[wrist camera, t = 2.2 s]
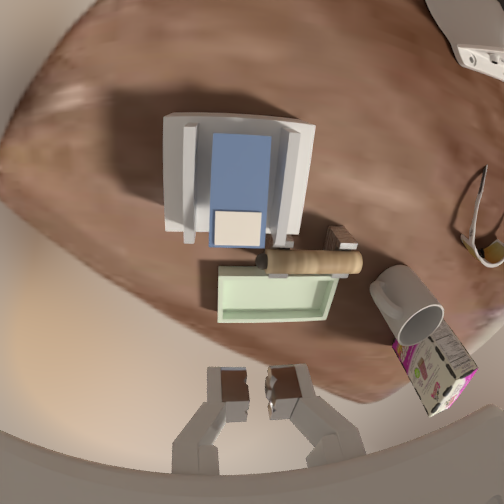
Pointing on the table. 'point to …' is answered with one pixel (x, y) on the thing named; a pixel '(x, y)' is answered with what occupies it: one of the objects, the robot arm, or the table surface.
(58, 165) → the table surface
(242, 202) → the blue box
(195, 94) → the table surface
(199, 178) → the grey card holder
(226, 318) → the tray
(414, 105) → the table surface
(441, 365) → the candy bar box
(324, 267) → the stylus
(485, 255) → the sunglasses
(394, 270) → the cup
